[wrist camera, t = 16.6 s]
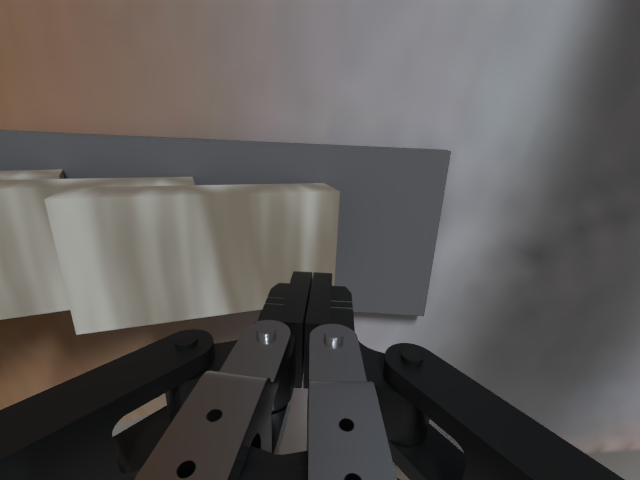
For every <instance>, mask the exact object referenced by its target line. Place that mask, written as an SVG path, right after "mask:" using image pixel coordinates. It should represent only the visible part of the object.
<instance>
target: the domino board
mask: <svg viewBox="0 0 640 480" xmlns="http://www.w3.org/2000/svg"><path fill="white" fill-rule="evenodd" d="M450 154H451V151H448V150H436V149H414V148H391V147H368V146H346V145H323V144H301V143H278V142H256V141H233V140H210V139H188V138H165V137H143V136H120V135H98V134H75V133H53V132H30V131H7V130H0V171H11V170H58V169H63V174H64V179H83V178H144V177H193V180H194V183H195V185H239V184H295V183H325V184H327V185H329V186H330V187H332V188H334V189H336V190H338V191H340V199H339V216H338V232H337V249H336V266H335V283H334V286H346V287H347V289H348V290H349V291H350V292H351V293H352V304H353V312H366V313H382V314H398V315H414V316H424V313H425V306H426V300H427V294H428V288H429V282H430V276H431V270H432V264H433V258H434V251H435V245H436V239H437V233H438V227H439V221H440V215H441V209H442V203H443V196H444V190H445V184H446V178H447V172H448V166H449V160H450Z"/></svg>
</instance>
